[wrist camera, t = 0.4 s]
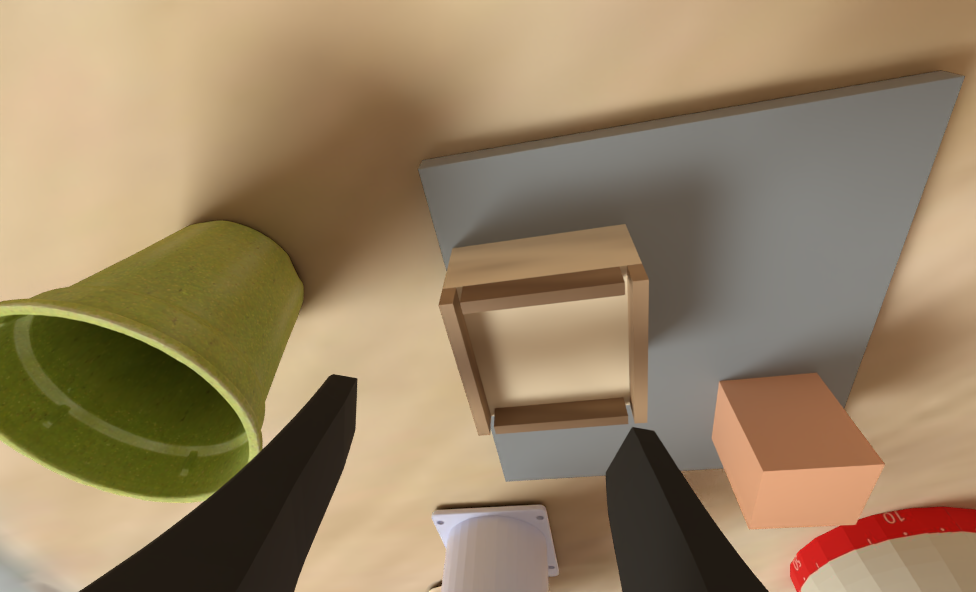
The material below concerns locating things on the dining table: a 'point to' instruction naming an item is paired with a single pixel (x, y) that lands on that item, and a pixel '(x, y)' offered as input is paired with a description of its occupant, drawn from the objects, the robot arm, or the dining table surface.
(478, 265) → the birch socket block
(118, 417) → the plant pot
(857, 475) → the terracotta block
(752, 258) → the grey board
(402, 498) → the dining table surface
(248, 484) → the robot arm
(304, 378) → the dining table surface
